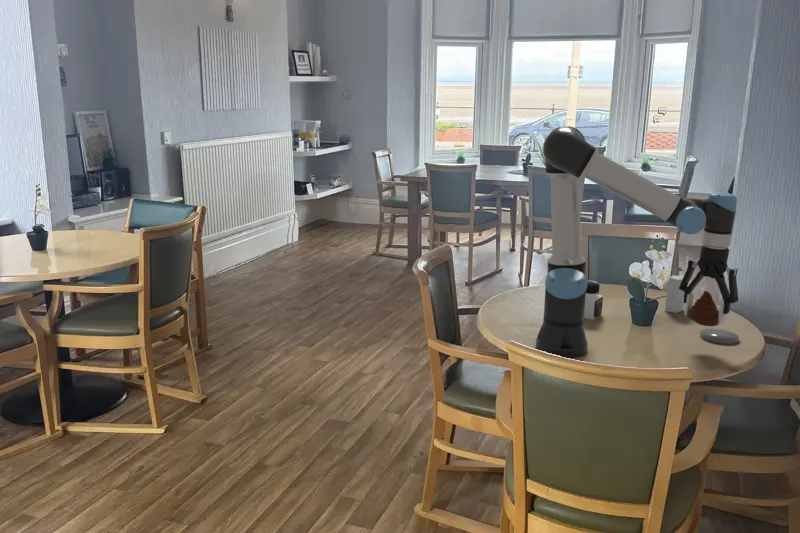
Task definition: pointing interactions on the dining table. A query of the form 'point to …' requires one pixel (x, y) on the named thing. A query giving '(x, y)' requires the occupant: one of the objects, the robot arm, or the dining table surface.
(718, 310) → the poop emoji
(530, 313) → the dining table surface
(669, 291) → the skincare box
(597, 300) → the medicine bottle
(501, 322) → the dining table surface
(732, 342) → the coaster
